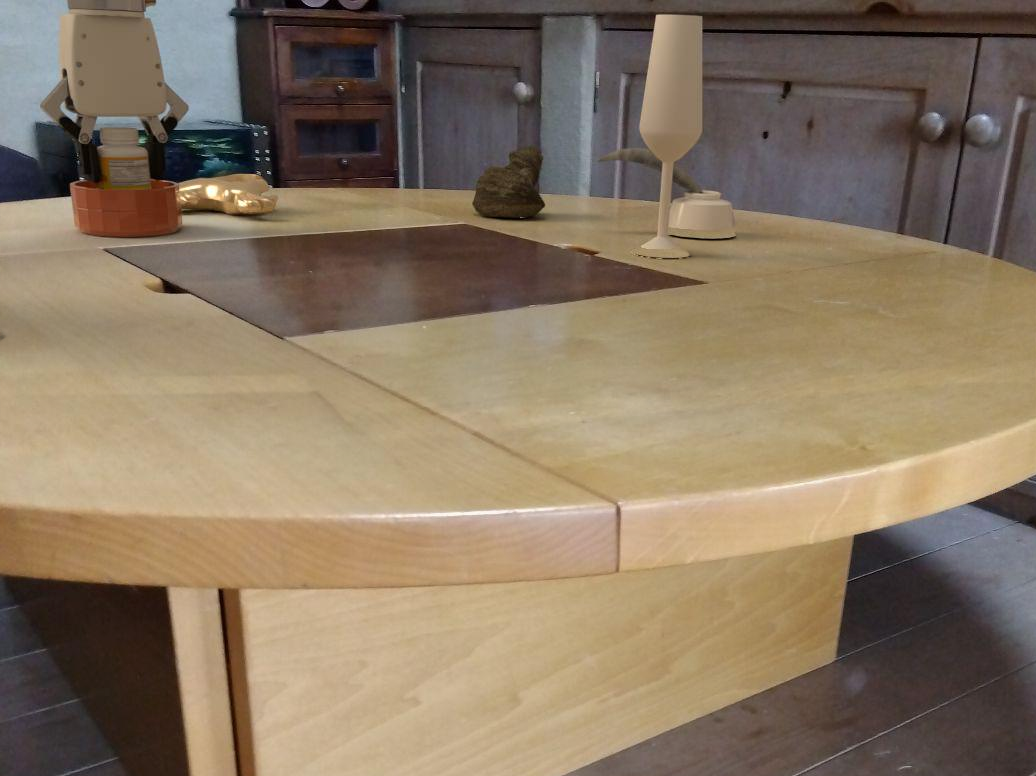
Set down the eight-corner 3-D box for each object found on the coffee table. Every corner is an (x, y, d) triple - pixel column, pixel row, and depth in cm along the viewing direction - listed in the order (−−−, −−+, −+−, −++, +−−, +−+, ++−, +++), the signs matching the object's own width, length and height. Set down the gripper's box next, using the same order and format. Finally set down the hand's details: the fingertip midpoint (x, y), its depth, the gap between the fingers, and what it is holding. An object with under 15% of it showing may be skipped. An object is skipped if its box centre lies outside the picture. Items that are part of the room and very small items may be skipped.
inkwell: (746, 240, 136) (756, 154, 132) (602, 239, 133) (607, 150, 129) (722, 229, 144) (730, 147, 140) (586, 228, 141) (590, 144, 137)
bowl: (94, 240, 119) (89, 191, 117) (62, 226, 128) (56, 180, 126) (198, 234, 126) (194, 187, 124) (161, 220, 134) (157, 177, 132)
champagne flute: (620, 250, 126) (634, 14, 117) (671, 248, 129) (690, 17, 119) (649, 259, 120) (667, 13, 111) (703, 257, 123) (724, 16, 114)
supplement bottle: (107, 220, 128) (96, 125, 124) (157, 221, 129) (148, 127, 125) (98, 227, 123) (87, 129, 119) (151, 228, 124) (141, 130, 120)
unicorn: (320, 179, 142) (216, 199, 129) (322, 211, 144) (220, 234, 131) (211, 164, 152) (104, 182, 139) (215, 194, 154) (110, 215, 141)
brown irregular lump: (575, 172, 144) (559, 163, 153) (500, 117, 139) (488, 111, 148) (525, 248, 146) (512, 234, 155) (450, 196, 142) (441, 185, 151)
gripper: (173, 6, 125) (187, 174, 132) (8, -3, 115) (33, 179, 122) (199, 5, 120) (212, 181, 127) (28, -4, 110) (53, 187, 117)
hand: (124, 178), depth 124 cm, fingers open, 6 cm apart
